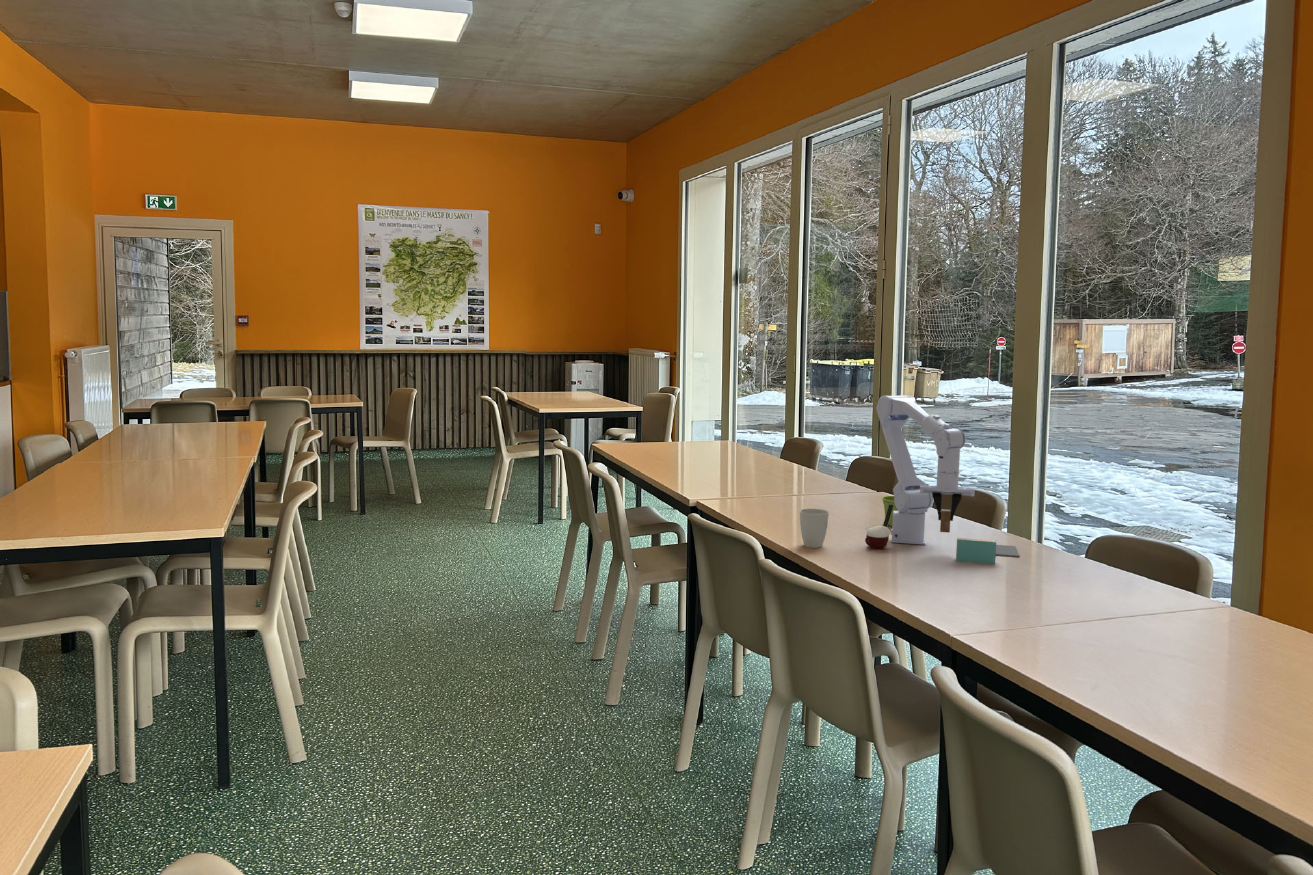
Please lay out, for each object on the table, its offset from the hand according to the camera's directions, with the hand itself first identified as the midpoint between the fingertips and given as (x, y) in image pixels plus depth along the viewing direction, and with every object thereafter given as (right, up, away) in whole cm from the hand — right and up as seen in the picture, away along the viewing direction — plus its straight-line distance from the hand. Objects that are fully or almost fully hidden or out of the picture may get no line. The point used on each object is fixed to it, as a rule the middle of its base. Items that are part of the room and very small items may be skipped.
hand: (945, 519), depth 265 cm
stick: (0, -3, 0) cm, 3 cm away
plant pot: (-5, -5, +36) cm, 37 cm away
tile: (+5, -11, -9) cm, 15 cm away
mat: (+15, -9, +4) cm, 18 cm away
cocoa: (-17, -9, +6) cm, 20 cm away
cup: (-36, -8, +7) cm, 37 cm away
